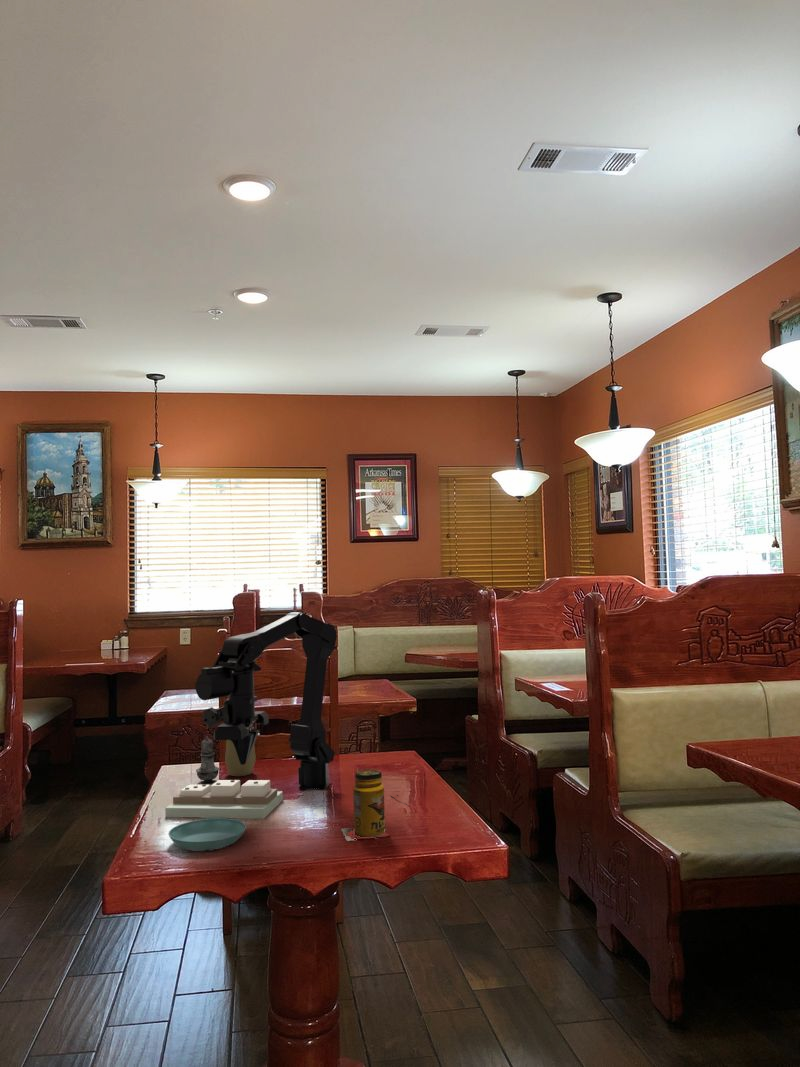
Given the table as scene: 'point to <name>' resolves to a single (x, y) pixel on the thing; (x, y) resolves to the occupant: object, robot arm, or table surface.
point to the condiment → (368, 805)
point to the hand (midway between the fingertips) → (243, 764)
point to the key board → (224, 806)
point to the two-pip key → (225, 788)
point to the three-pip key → (195, 790)
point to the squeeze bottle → (234, 763)
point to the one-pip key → (255, 788)
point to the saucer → (207, 834)
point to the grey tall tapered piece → (207, 764)
